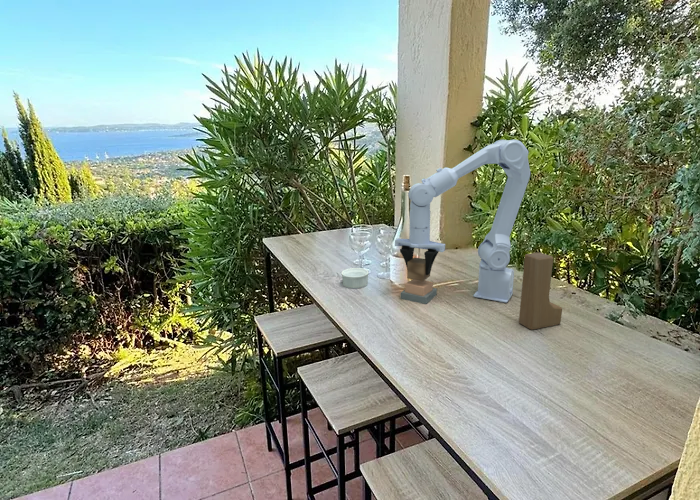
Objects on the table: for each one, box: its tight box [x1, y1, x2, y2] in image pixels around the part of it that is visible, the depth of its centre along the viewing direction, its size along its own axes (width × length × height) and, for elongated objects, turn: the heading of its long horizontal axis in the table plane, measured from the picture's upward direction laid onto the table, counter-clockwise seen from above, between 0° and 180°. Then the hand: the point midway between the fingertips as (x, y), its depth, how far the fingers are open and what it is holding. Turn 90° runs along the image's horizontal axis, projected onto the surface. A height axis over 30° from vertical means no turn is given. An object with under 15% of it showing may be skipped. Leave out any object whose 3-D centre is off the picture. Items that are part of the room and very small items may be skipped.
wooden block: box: [518, 252, 563, 331], centre depth 96 cm, size 9×4×18 cm, turn 108°
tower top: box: [404, 279, 434, 296], centre depth 116 cm, size 6×6×2 cm
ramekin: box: [341, 267, 370, 290], centre depth 128 cm, size 9×9×4 cm
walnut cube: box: [406, 256, 431, 281], centre depth 115 cm, size 5×5×5 cm
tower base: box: [400, 287, 438, 305], centre depth 117 cm, size 8×8×2 cm
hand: (418, 272), depth 115 cm, fingers closed on walnut cube, 5 cm apart
